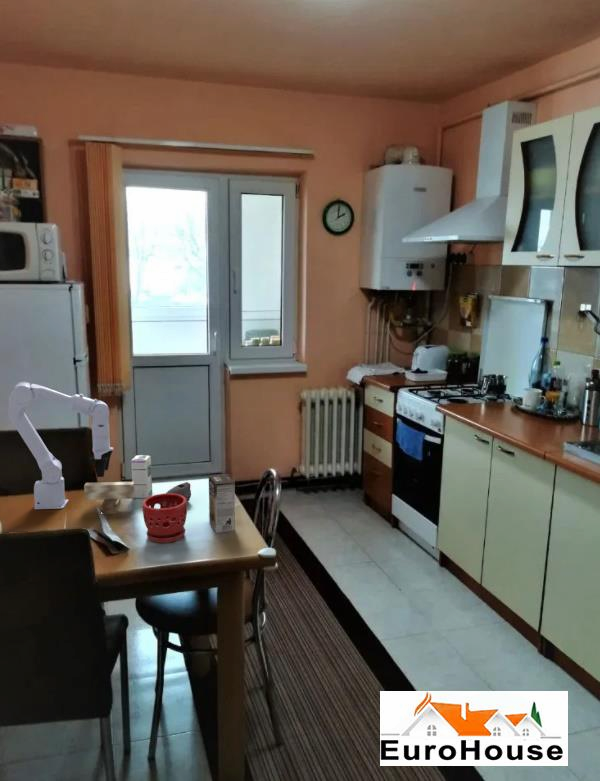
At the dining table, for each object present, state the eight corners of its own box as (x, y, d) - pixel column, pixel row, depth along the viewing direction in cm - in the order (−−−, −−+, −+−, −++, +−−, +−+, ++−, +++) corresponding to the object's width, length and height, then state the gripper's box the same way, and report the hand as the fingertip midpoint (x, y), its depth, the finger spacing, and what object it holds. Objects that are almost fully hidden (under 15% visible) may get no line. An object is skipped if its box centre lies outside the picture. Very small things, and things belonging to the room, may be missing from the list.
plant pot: (142, 531, 192) (141, 494, 190) (185, 527, 195) (184, 491, 193) (144, 548, 179) (143, 509, 177) (189, 543, 183) (188, 505, 181)
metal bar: (84, 499, 207) (84, 485, 206) (86, 496, 210) (86, 482, 209) (133, 498, 209) (132, 484, 208) (134, 495, 212) (134, 481, 211)
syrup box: (148, 498, 221) (147, 459, 219) (132, 497, 221) (130, 459, 219) (152, 492, 227) (151, 455, 224) (136, 492, 227) (135, 454, 224)
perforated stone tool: (166, 514, 206) (166, 494, 205) (155, 511, 209) (154, 491, 208) (195, 501, 219) (195, 482, 218) (184, 498, 221) (184, 480, 220)
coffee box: (208, 522, 199) (207, 475, 196) (227, 520, 201) (227, 473, 199) (215, 533, 191) (214, 483, 188) (235, 530, 193) (235, 481, 190)
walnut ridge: (100, 514, 205) (99, 502, 204) (105, 503, 215) (105, 492, 214) (115, 513, 206) (115, 502, 205) (120, 503, 215) (120, 492, 215)
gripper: (108, 441, 208) (110, 479, 210) (116, 431, 222) (117, 467, 224) (87, 441, 207) (89, 479, 209) (96, 431, 221) (98, 467, 224)
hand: (102, 473), depth 217 cm, fingers open, 7 cm apart
